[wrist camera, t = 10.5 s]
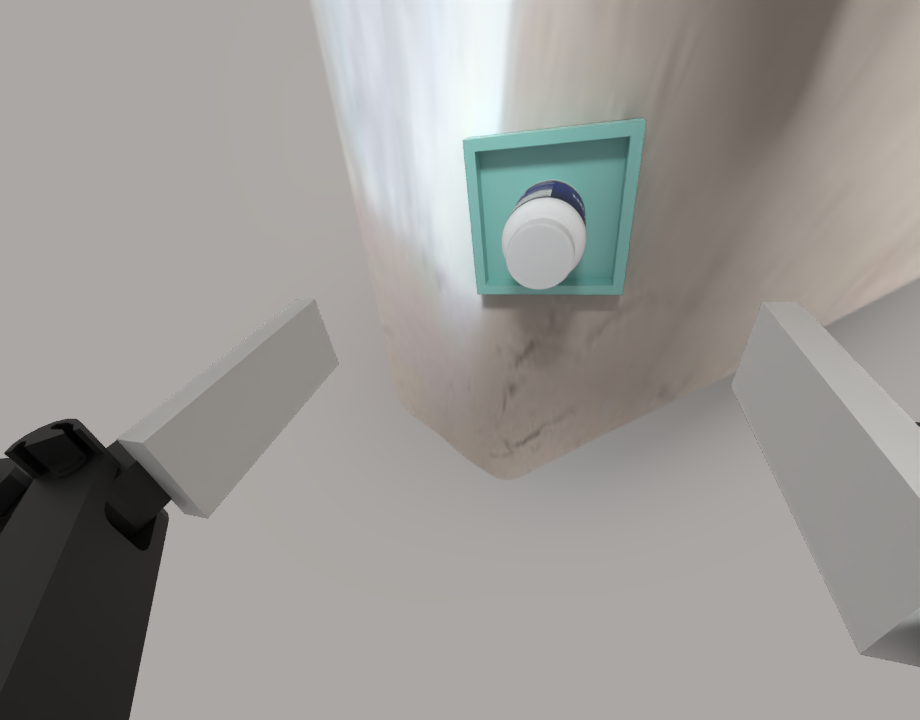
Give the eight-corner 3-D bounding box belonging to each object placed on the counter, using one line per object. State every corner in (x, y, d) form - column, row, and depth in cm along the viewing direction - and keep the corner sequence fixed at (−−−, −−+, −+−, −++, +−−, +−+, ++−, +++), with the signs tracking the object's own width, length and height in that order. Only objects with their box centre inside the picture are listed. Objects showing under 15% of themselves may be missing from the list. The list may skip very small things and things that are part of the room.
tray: (469, 137, 29) (462, 140, 27) (642, 117, 26) (646, 120, 24) (482, 284, 35) (477, 294, 34) (620, 284, 32) (622, 294, 31)
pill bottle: (594, 232, 30) (600, 283, 22) (530, 258, 32) (515, 312, 25) (571, 163, 28) (568, 194, 20) (504, 197, 30) (478, 235, 22)
